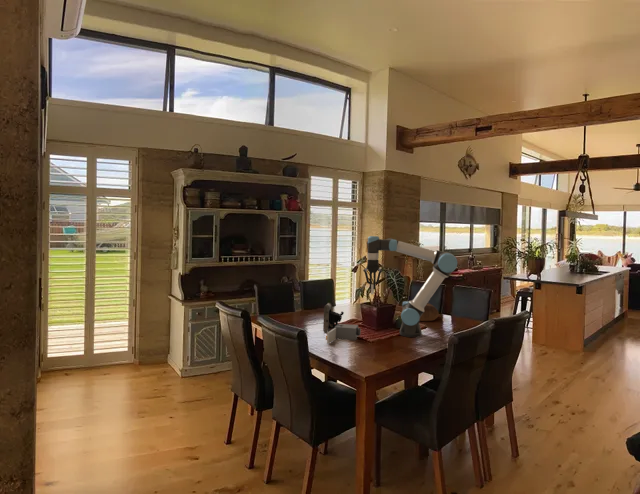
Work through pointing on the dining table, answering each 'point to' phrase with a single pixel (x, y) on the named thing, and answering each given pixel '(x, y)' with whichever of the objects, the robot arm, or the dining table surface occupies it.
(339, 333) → the cabinet with round knob
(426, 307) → the bread
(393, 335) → the dining table surface
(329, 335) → the side door
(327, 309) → the vintage camera
